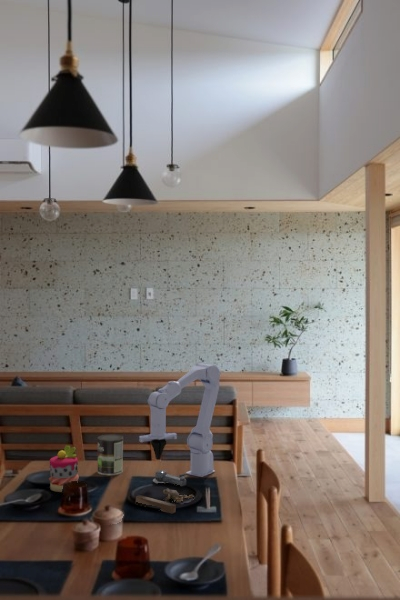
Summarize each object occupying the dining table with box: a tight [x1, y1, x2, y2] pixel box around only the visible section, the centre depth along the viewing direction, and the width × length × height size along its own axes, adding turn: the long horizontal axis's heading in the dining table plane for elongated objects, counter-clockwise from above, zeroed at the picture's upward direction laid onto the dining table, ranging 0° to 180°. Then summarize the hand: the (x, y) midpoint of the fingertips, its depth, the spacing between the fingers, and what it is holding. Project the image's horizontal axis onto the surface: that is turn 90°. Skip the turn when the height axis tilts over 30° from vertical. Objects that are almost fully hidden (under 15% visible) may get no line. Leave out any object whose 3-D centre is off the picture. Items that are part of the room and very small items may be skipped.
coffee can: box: [97, 433, 124, 477], centre depth 266 cm, size 10×10×14 cm
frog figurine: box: [162, 487, 195, 502], centre depth 234 cm, size 12×12×4 cm
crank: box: [154, 469, 187, 487], centre depth 252 cm, size 14×4×4 cm, turn 49°
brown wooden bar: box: [135, 494, 177, 515], centre depth 226 cm, size 2×16×2 cm, turn 54°
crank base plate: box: [152, 478, 169, 484], centre depth 255 cm, size 6×6×1 cm
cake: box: [48, 445, 80, 493], centre depth 246 cm, size 10×11×15 cm
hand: (158, 459), depth 252 cm, fingers closed
